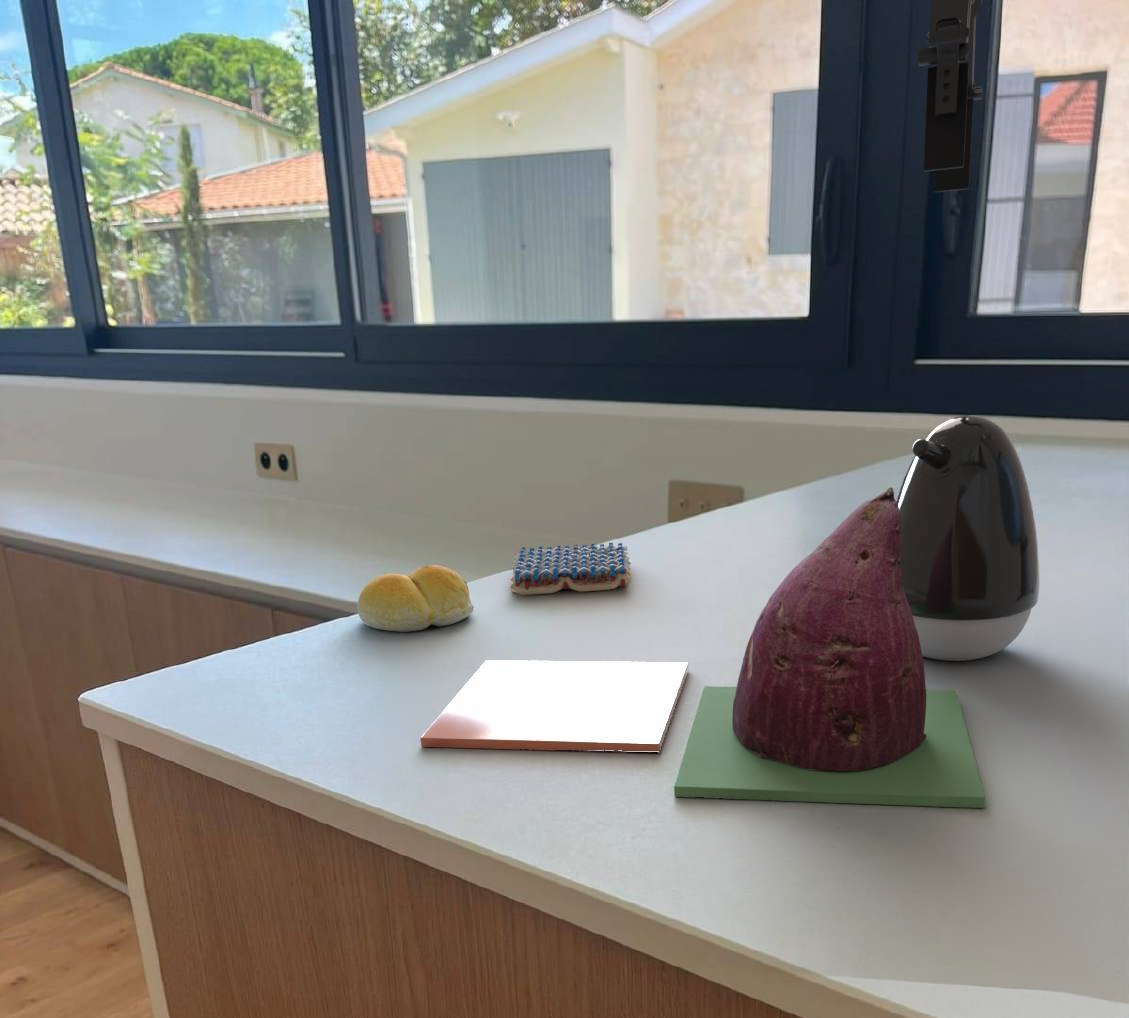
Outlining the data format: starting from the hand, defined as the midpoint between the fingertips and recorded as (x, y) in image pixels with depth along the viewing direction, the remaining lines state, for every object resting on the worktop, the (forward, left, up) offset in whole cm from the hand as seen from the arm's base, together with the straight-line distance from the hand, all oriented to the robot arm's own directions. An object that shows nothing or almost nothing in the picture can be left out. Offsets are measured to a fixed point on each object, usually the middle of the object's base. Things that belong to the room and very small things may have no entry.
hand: (947, 181), depth 89 cm
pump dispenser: (0, +26, -30) cm, 39 cm away
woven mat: (+30, +7, -30) cm, 43 cm away
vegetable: (+8, +43, -29) cm, 52 cm away
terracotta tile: (+24, +38, -30) cm, 53 cm away
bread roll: (+40, +19, -30) cm, 53 cm away
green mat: (+8, +43, -30) cm, 52 cm away
